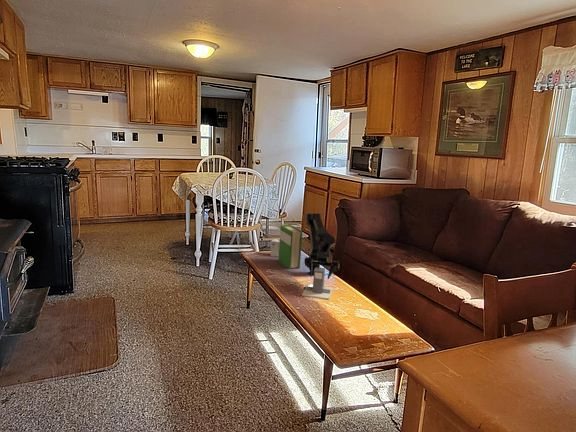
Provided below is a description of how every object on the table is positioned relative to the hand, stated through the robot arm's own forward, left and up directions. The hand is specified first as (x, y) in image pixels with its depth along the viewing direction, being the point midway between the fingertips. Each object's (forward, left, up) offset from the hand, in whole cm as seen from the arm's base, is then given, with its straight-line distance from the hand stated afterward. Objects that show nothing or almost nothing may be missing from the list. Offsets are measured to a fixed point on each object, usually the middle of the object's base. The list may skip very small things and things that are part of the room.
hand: (319, 277), depth 208 cm
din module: (+2, +1, -6) cm, 7 cm away
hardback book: (-28, -35, -7) cm, 46 cm away
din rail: (+2, +1, -7) cm, 8 cm away
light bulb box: (-41, -51, -7) cm, 66 cm away
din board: (+2, +1, -7) cm, 8 cm away
